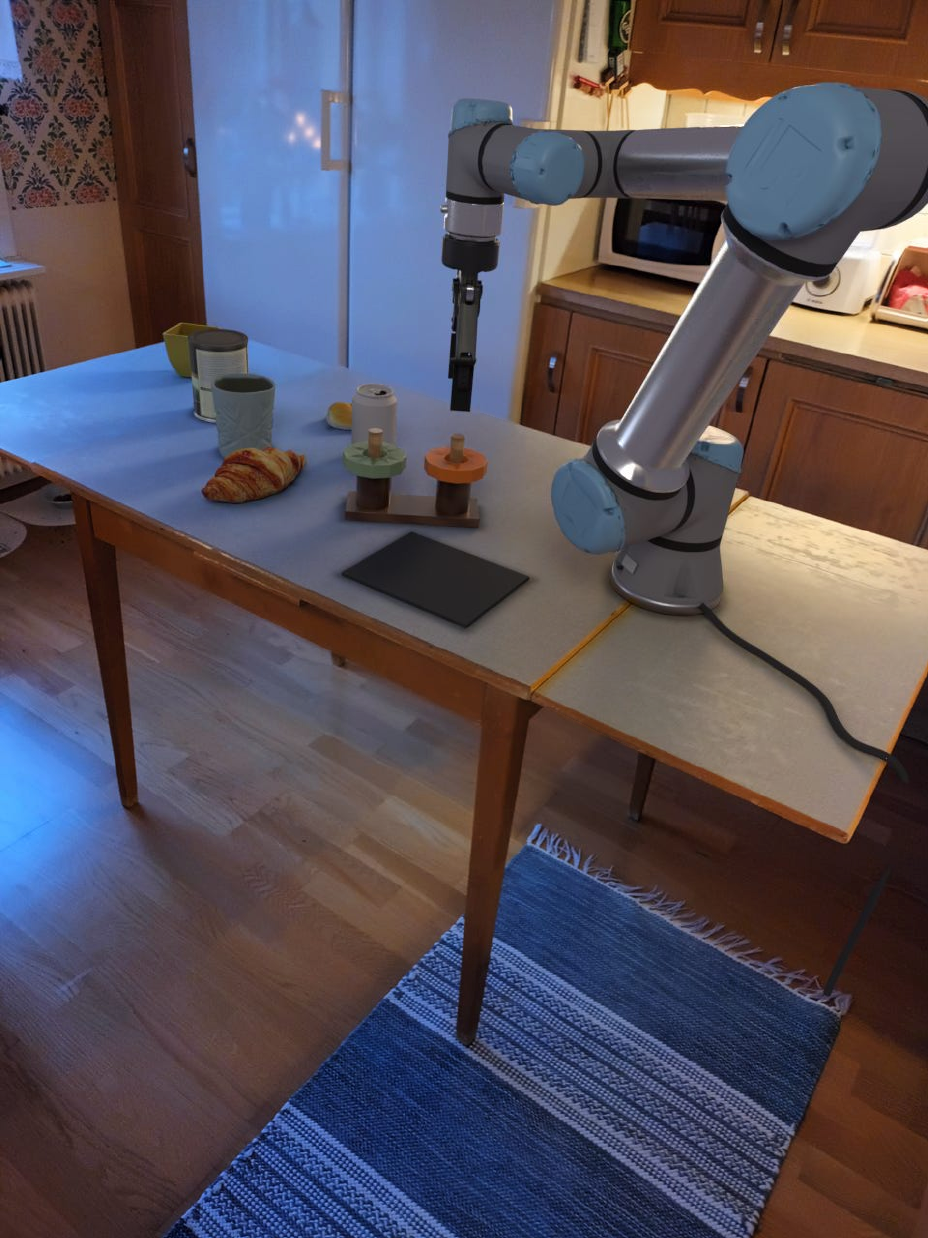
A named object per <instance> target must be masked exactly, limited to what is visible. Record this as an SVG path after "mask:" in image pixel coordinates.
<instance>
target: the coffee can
mask: <svg viewBox="0 0 928 1238" xmlns="http://www.w3.org/2000/svg"><path fill="white" fill-rule="evenodd" d="M188 342H189V351H190V362H191V374H192V378H191V385H192V397H193V409H194V411H193V414H194V417H196V418H197V419H198V420H201V421H203V422H207V423H211V424H216V419H215V417H216V412H215V409H214V402H213V395H212V389H211V381H212V380H213V379H214V378H216V377H218V376H222V375H226V374H250V370H249V369H250V368H249V367H250V366H249V347H248V345H249V344H248V343H249V337H248V335H247V334H245V333H244V332H242V331H238V330H235V329H228V328H221V329H205V330H199V331H195V332H193V333H191V334H189V335H188Z"/></svg>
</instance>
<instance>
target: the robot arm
mask: <svg viewBox="0 0 928 1238" xmlns="http://www.w3.org/2000/svg"><path fill="white" fill-rule="evenodd" d="M449 124H450V125H449V131H448V134H447V138H448V143H447V144H448V147H447V162H446V165H447V166H446V181H445V200H444V201H445V203H446V204H441V205H440V207H439V212H440V213H441V214H444V217H443V230H445V232H446V233H445V234H444V235H443V236H442V239H441V256H440V261H441V264H442V265H443V266H444V267H446V268H448V269H450V270H454V271H455V270H456V278H455V277H453V278H452V284H451V292H452V304H453V306H452V307H453V308H452V317H451V319H450V321H451V327H450V329H451V333H450V345H449V356H448V357H449V358H448V371H447V378H448V379H450V380H451V392H450V404H449V411H450V412H463V413H470V412H471V405H472V397H473V396H472V395H473V394H472V393H473V384H474V373H475V372H474V371H475V365H476V363H477V357H476V355H477V342H478V341H477V338H478V323H479V322H478V320H479V317H480V313H481V299H482V297H483V293H484V285H483V280H479V274H480V273H482V272H484V273H490V272H492V271H494V270H496V269H497V268H498V265H499V256H500V255H499V254H500V244H501V243H500V240H499V238H498V237H500V235H501V234H502V230H503V229H502V228H503V221H504V208H505V195H508V196H511V197H514V198H518V199H521V200H525V201H526V202H529V203H531V204H534V205H544V206H545V205H546V206H552V207H553V206H554V207H556V206H561V205H564V204H565V203H566V202H567V201H568V200H575V199H654V200H684V201H713V202H714V201H715V202H716V201H718V202H727V203H726V204H725V207H724V208H723V211H722V213H721V215H720V219H721V223H722V227H723V230H724V234H725V239H724V241H723V243H722V244H721V246H720V248H719V250H718V251H717V253H716V254H715V256H714V258H713V260H712V261H711V263H710V265H709V266H708V268H707V270H706V272H705V274H704V275H703V277H702V279H701V281H700V283H699V284H698V286H697V288H696V289H695V291H694V293H693V295H692V297H691V298H690V300H689V302H688V303H687V305H686V307H685V308H684V310H683V312H682V314H681V315H680V317H679V319H678V321H677V323H676V324H675V326H674V327H673V329H672V331H671V333H670V335H669V337H668V338H667V340H666V341H665V343H664V345H663V346H662V348H661V350H660V352H659V354H658V355H657V357H656V358H655V361H654V362H653V364H652V366H651V367H650V369H649V371H648V373H647V375H646V376H645V378H644V379H643V382H642V383H641V385H640V387H639V388H638V390H637V391H636V393H635V395H634V397H633V398H632V400H631V402H630V404H629V406H628V408H627V409H626V411H625V412H624V415H623V416H622V418H620V419H614V420H611V421H608V422H607V423H605V424H603V426H602V427H601V428H600V430H598V433H597V434H596V437H595V438H594V440H593V441H592V443H591V445H590V447H589V449H588V450H587V452H586V453H585V455H584V456H582V457H581V458H572V459H570V460H569V461H567V462H565V463H563V464H562V465H560V467H558V469H557V470H556V472H555V473H554V475H553V477H552V481H551V486H550V501H551V506H552V509H553V515H554V519H555V520H556V521H555V522H556V523H557V525H558V527H559V529H560V531H561V533H562V534H563V535H564V537H565V538H566V539H567V541H569V543H570V544H572V546H573V547H575V548H576V549H578V550H579V551H581V552H583V553H585V554H589V555H594V556H600V555H604V554H608V553H610V554H613V553H616V552H618V554H617V556H616V557H615V559H614V562H613V563H612V567H611V572H610V584H611V586H612V588H613V590H615V592H616V593H617V594H618V595H619V596H621V597H622V598H623V599H624V600H625V601H627V602H630V603H631V604H632V605H635V606H637V607H638V608H639V607H640V608H642V609H644V610H646V611H647V610H648V611H650V612H654V613H658V614H661V615H662V614H663V615H669V616H695V615H696V616H697V615H701V614H704V615H705V617H707V618H708V619H709V620H710V622H711V623H712V624H713V625H714V626H715V628H717V629H718V631H720V632H721V633H722V634H723V635H724V636H725V637H727V639H729V640H731V641H732V642H733V643H734V644H736V645H738V646H739V647H741V648H742V649H743V650H746V651H747V652H748V653H750V654H753V655H754V656H756V657H757V658H759V659H761V660H762V661H764V662H765V663H767V664H769V666H771V667H773V668H774V669H776V670H778V671H779V672H781V673H782V674H783V675H785V676H787V677H789V678H790V679H791V680H793V681H794V682H796V683H797V684H799V685H800V686H802V687H803V688H805V689H806V690H807V691H808V692H809V693H810V694H812V696H814V697H815V698H816V700H817V701H818V702H819V703H820V705H821V706H822V707H823V709H824V711H825V714H827V718H828V719H829V722H830V724H831V726H832V728H833V730H834V731H835V732H836V734H837V735H838V736H839V737H840V739H842V740H843V741H844V742H845V743H846V744H847V745H849V746H850V747H852V748H853V749H855V750H857V751H859V752H861V753H864V754H867V755H869V756H871V757H875V758H876V759H877V758H878V759H880V760H881V761H883V762H885V763H887V764H888V765H889V766H890V768H892V769H893V770H894V772H895V773H896V775H897V777H898V779H899V781H901V782H902V783H904V784H910V783H911V780H910V777H909V775H908V772H907V770H906V769H905V767H904V765H903V764H902V763H901V762H900V761H899V760H898V758H896V757H895V756H893V755H892V754H891V753H889V752H887V751H885V750H883V749H880V748H878V747H875V746H873V745H871V744H867V743H864V742H862V741H860V740H858V739H857V738H855V737H854V736H852V734H850V733H849V732H848V730H846V728H845V727H844V725H843V723H841V720H840V718H839V716H838V714H837V712H836V709H835V707H834V705H833V704H832V702H831V701H830V699H829V698H828V697H827V696H826V695H825V693H824V692H822V690H820V689H819V688H818V687H817V686H816V685H815V684H813V683H812V682H811V681H810V680H808V679H807V678H805V677H804V676H802V675H801V674H799V673H798V672H796V671H795V670H793V669H792V668H790V667H788V666H787V665H785V664H784V663H782V662H781V661H779V660H778V659H776V658H775V657H773V656H772V655H770V654H769V653H767V652H765V651H764V650H762V649H761V648H758V647H757V646H756V645H753V644H752V643H750V642H748V641H747V640H745V639H743V638H742V637H740V636H739V635H737V634H736V633H735V632H733V631H732V630H731V629H730V628H729V627H727V626H726V625H725V623H724V622H722V620H721V619H720V618H719V617H718V616H717V615H716V613H714V612H713V609H715V608H716V607H717V606H718V605H719V604H720V601H721V598H722V595H723V591H724V577H723V574H724V573H723V564H722V554H721V544H722V540H723V536H724V532H725V530H726V525H727V521H728V517H729V514H730V510H731V506H732V503H733V499H734V495H735V492H736V488H737V485H738V481H739V477H740V474H742V469H741V468H742V463H743V458H744V452H745V451H744V446H743V444H742V443H741V442H740V440H739V439H738V438H737V437H736V436H734V435H732V434H731V433H729V432H727V431H725V430H723V429H721V428H718V427H716V426H712V425H710V424H711V423H712V421H713V420H714V418H715V417H716V415H717V414H718V412H719V411H720V409H721V408H722V406H723V405H724V403H725V402H726V400H727V399H728V397H729V396H730V395H731V393H732V392H733V390H734V389H735V387H736V386H737V384H738V383H739V381H740V380H741V378H742V377H743V375H744V374H745V372H746V371H747V369H748V368H749V367H750V365H751V363H752V362H753V360H754V359H755V357H756V356H757V354H758V353H759V351H760V350H761V349H762V347H763V345H764V344H765V343H766V341H767V340H768V339H769V337H770V335H771V334H772V332H773V331H774V329H775V328H776V327H777V325H778V323H779V322H780V320H781V319H782V318H783V317H784V315H785V313H786V312H787V310H788V309H789V307H790V306H791V305H792V303H793V301H794V300H795V298H796V297H797V296H798V294H799V293H800V291H801V290H802V288H803V287H804V285H805V284H807V283H810V282H817V281H821V280H824V279H827V278H828V277H829V276H830V275H831V274H832V273H833V271H834V270H835V268H836V267H837V265H838V264H839V263H840V261H841V260H842V259H843V258H844V256H845V254H846V253H847V251H848V250H849V248H850V247H851V245H852V244H853V243H854V242H855V240H856V239H857V237H858V236H859V234H860V233H862V232H863V233H864V232H870V231H878V230H886V229H890V228H892V227H896V226H898V225H899V224H902V223H903V222H906V221H908V220H909V219H911V218H913V217H914V216H916V215H917V214H919V213H920V212H921V211H922V210H923V209H924V208H926V206H927V205H928V99H927V98H925V97H924V96H923V95H921V94H919V93H915V92H912V91H909V90H904V89H887V88H885V89H884V88H874V87H864V86H863V87H862V86H852V85H851V84H848V83H842V82H836V81H835V82H828V81H827V82H818V83H814V84H808V85H799V86H795V87H792V88H788V89H787V90H784V91H781V92H780V93H778V94H776V95H774V96H773V97H771V98H769V99H768V100H767V101H765V102H764V103H763V104H761V105H760V106H759V107H758V108H757V109H756V110H755V111H754V112H753V113H752V114H751V115H750V117H748V119H747V120H746V122H745V123H744V124H730V125H708V126H690V127H689V126H687V127H668V128H645V129H622V130H621V129H620V130H619V129H618V130H582V129H558V128H557V129H555V128H554V129H549V128H548V129H547V128H535V127H527V126H522V125H515V124H514V121H513V108H512V106H511V104H510V103H508V102H505V101H504V102H503V101H501V100H493V99H484V98H483V99H481V98H468V97H467V98H459V99H458V100H456V101H454V103H453V105H452V108H451V116H450V123H449ZM886 758H887V759H886ZM891 867H892V864H890V865H889V866H888V868H887V869H886V871H885V872H884V873H883V874H882V876H881V877H880V878H879V880H878V881H877V882H876V884H875V885H874V887H873V888H872V889H871V891H870V892H869V895H868V896H867V900H866V901H865V904H864V905H863V908H862V910H861V912H860V915H859V917H858V918H857V920H856V922H855V924H854V927H853V928H852V930H851V932H850V934H849V936H848V938H847V940H846V942H845V944H844V946H843V948H842V950H841V952H840V953H839V956H838V958H837V960H836V962H835V964H834V966H833V968H832V970H831V972H830V975H829V976H828V979H827V981H826V984H825V986H824V988H823V991H822V994H823V995H824V996H825V997H828V998H830V997H831V996H832V994H833V991H834V989H835V987H836V985H837V982H838V980H839V978H840V976H841V974H842V972H843V970H844V968H845V966H846V963H847V962H848V960H849V958H850V956H851V954H852V952H853V950H854V948H855V946H856V944H857V942H858V941H859V939H860V937H861V935H862V933H863V932H864V930H865V927H866V925H867V923H868V921H869V919H870V917H871V915H872V913H873V911H874V909H875V907H876V905H877V902H878V900H879V898H880V895H881V893H882V891H883V888H884V886H885V883H886V880H887V879H888V876H889V873H890V869H891Z"/></svg>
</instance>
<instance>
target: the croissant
mask: <svg viewBox="0 0 928 1238" xmlns="http://www.w3.org/2000/svg"><path fill="white" fill-rule="evenodd" d="M306 464H307V457H306V454H305V453H304V454H303V453H301V454H299V453H297V452H295V451H293V450H291V449H288V450H285V451H283V450H279V449H278V448H276V447H273V446H271V447H266V448H265V449H263V450H262V451H261V450H259V449H256V448H244V449H239V450H236V451H234V452H232V454H230V455H228V456H227V457H226V458H223V460H222V463H221V466H220V467H218V468H217V469H216V470H215V472H214V475H213V477H211V478H210V479H209V480H208V481H206V484H205V486H204V487H203V488H201V494H202V496H203V497H204V498H205V499H206V500H210V501H214V502H227V503H232V504H233V503H237V504H238V503H241V504H242V503H244V502H248V501H254V500H261V499H264V498H267V497H268V496H271V495H274V494H277V493H280V492H281V491H283V490H284V489H286V488H287V487H288V486H289V485H290V483H291V482H293V481H294V480H295V479H296V478H297V476H298V474H299V473H301V472H302V471H303V470H304V469H305V467H306Z"/></svg>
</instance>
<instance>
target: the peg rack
mask: <svg viewBox="0 0 928 1238" xmlns="http://www.w3.org/2000/svg"><path fill="white" fill-rule="evenodd" d="M465 440H466V436H465V435H464V434H462V433H452V434H451V435H450V446H449V447H450V457H449V462H451V463H463V452H464V448H465ZM368 457H370V458H382V430H381V429H379V428H371V429H369V436H368ZM392 477H393V476H392ZM392 477H389V478H367V477H362V476H357V475H356V482H355V485H356V486H355V487H356V488H355V490H356V491H352V490H351V491H349V490H348V492H347V497H346V503H345V509H344V521H357V522H369V523H371V522H373V523H390V524H406V525H424V526H437V527H438V526H439V527H454V528H455V527H458V528H473V529H479V528H480V527H479V526H480V513H479V512H480V511H479V503H478V499H477V498H471V492H472V483H458V484H455V483H450V482H444V481H439V480H437V479H436V488H435V496H433V495H418V494H417V495H416V494H400V493H398V494H397V493H392Z"/></svg>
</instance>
